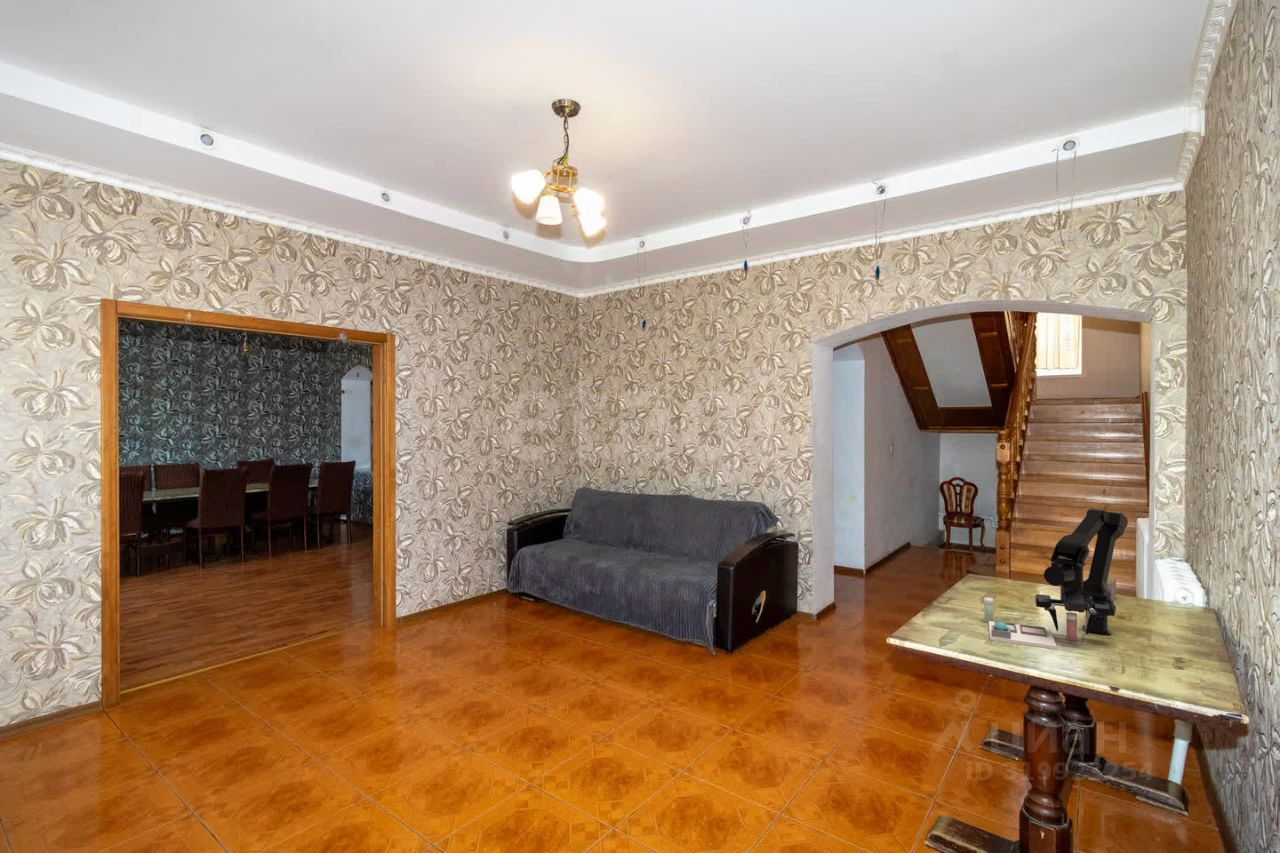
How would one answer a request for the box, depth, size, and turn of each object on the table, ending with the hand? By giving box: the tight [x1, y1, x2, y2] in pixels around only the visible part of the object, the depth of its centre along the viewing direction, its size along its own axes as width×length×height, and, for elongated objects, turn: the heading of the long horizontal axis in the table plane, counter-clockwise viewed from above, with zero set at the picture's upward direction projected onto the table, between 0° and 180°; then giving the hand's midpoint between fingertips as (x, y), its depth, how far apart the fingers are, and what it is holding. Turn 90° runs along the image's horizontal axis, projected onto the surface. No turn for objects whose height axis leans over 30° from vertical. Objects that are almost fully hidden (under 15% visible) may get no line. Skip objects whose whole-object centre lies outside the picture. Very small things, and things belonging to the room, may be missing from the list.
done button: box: [994, 621, 1007, 631], centre depth 190 cm, size 3×3×2 cm
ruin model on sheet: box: [1107, 573, 1117, 602], centre depth 232 cm, size 11×3×10 cm, turn 134°
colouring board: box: [988, 620, 1058, 650], centre depth 193 cm, size 17×17×3 cm
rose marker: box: [1065, 611, 1078, 642], centre depth 189 cm, size 3×3×8 cm
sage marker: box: [983, 596, 994, 624], centre depth 206 cm, size 3×3×8 cm
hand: (1071, 632), depth 189 cm, fingers open, 7 cm apart
